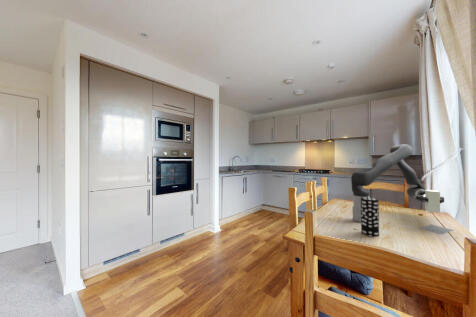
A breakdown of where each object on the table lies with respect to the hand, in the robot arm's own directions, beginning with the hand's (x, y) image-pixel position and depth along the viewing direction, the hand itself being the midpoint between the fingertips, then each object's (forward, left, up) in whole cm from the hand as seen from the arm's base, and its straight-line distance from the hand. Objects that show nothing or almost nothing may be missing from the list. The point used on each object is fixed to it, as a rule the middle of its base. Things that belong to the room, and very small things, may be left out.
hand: (434, 200), depth 111 cm
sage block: (+2, +2, -7) cm, 7 cm away
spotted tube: (-37, +13, -18) cm, 43 cm away
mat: (+3, +1, -18) cm, 18 cm away
